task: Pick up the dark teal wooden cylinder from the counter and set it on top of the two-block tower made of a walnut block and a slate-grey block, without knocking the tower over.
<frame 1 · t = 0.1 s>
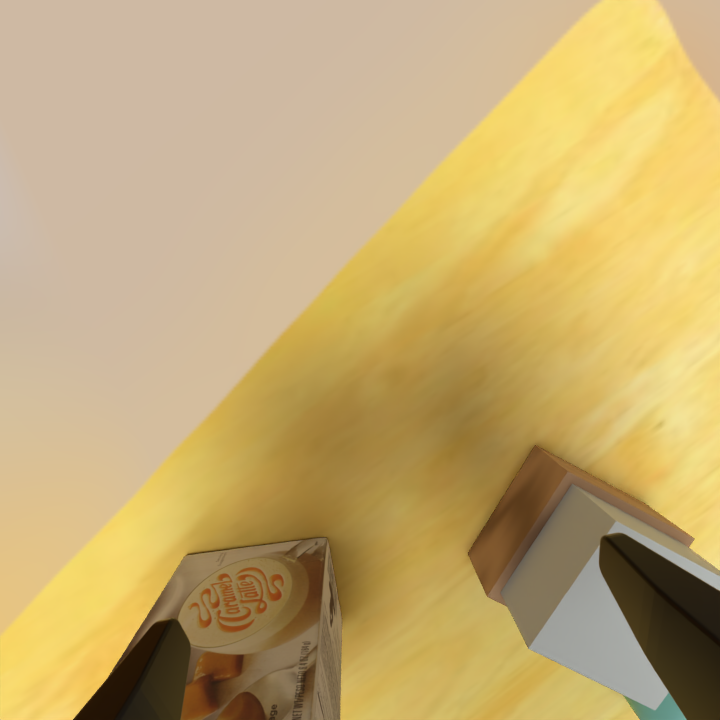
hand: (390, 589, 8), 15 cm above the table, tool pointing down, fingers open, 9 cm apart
tower base: (553, 526, 25), on the table, touching tower top
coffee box: (267, 586, 26), on the table
teal cylinder: (642, 656, 27), on the table
tower top: (590, 567, 22), point 4 cm above the table, touching tower base
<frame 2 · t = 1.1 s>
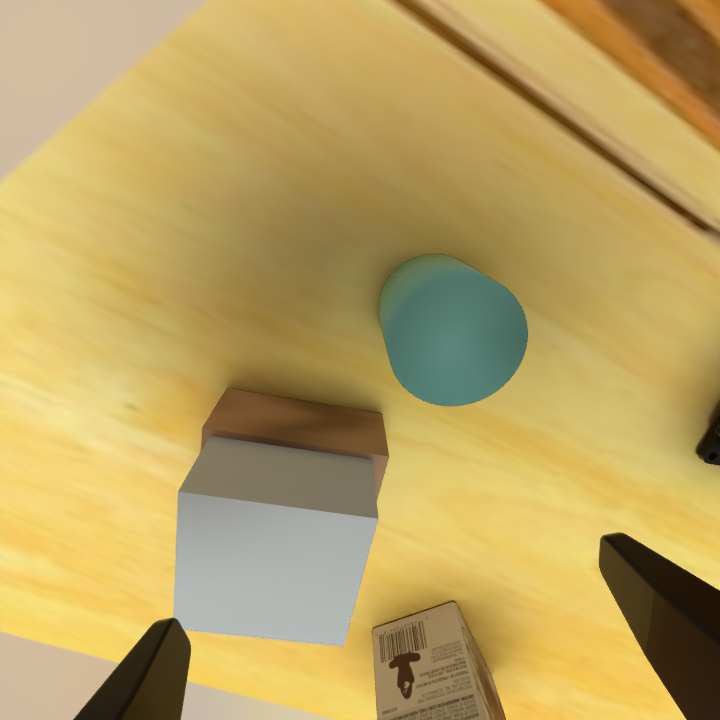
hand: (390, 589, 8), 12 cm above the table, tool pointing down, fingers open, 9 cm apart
tower base: (295, 461, 22), on the table, touching tower top
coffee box: (433, 649, 29), on the table
teal cylinder: (430, 308, 19), on the table
tower top: (283, 511, 19), point 4 cm above the table, touching tower base
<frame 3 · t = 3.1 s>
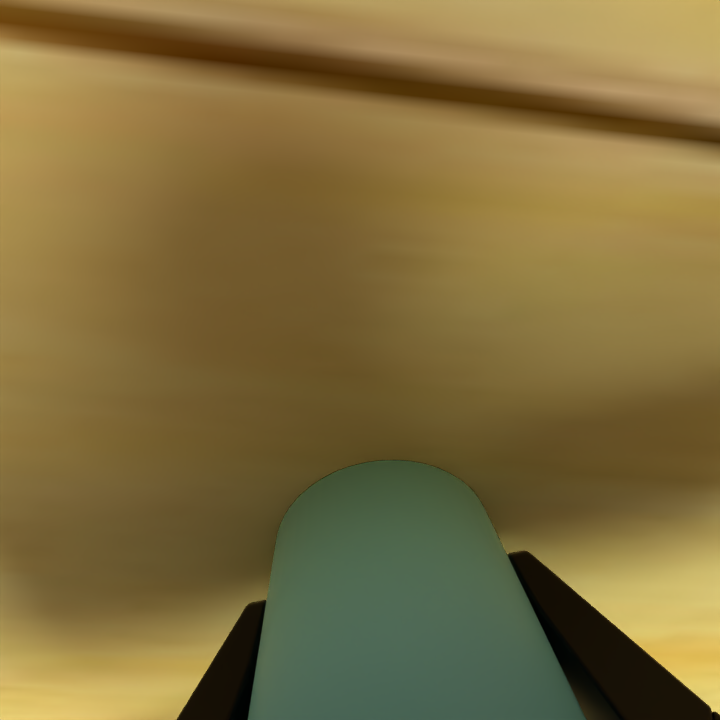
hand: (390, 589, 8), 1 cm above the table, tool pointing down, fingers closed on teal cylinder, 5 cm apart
teal cylinder: (384, 548, 9), on the table, touching gripper
when the fingers open (9 cm above the table, at t = 6.3 s): teal cylinder drops 1 cm, resting on tower top.
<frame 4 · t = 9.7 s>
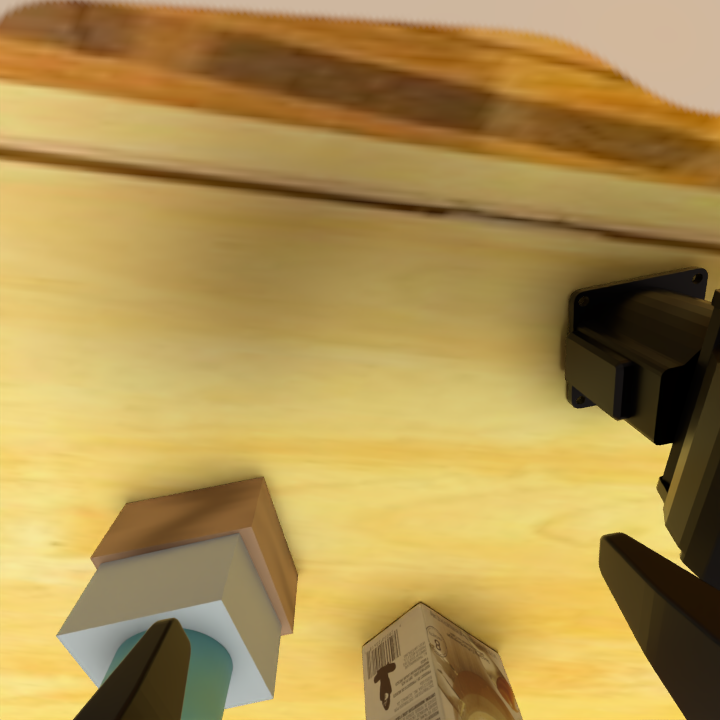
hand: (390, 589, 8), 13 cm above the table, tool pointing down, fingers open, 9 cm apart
tower base: (218, 538, 25), on the table, touching tower top
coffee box: (430, 646, 30), on the table
teal cylinder: (174, 666, 18), point 7 cm above the table, touching tower top
tower top: (196, 596, 21), point 4 cm above the table, touching teal cylinder, tower base
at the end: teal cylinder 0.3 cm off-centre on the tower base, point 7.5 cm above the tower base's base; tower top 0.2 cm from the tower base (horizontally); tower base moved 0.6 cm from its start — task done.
